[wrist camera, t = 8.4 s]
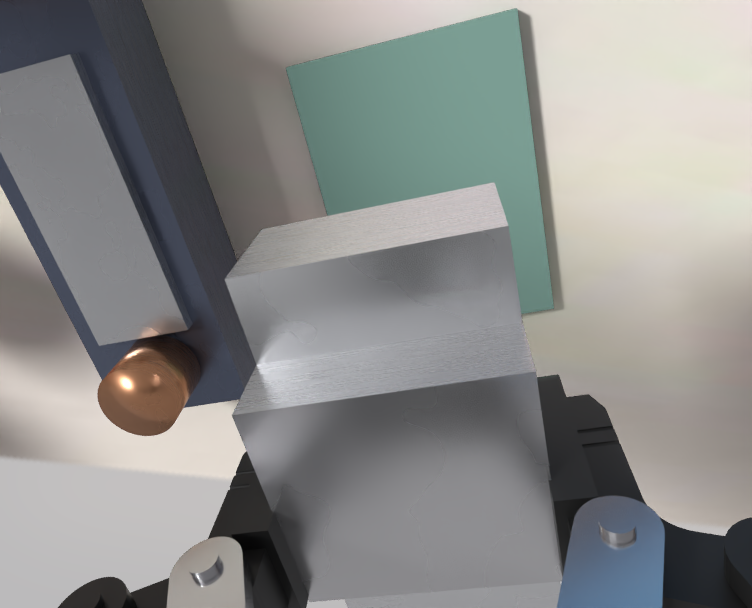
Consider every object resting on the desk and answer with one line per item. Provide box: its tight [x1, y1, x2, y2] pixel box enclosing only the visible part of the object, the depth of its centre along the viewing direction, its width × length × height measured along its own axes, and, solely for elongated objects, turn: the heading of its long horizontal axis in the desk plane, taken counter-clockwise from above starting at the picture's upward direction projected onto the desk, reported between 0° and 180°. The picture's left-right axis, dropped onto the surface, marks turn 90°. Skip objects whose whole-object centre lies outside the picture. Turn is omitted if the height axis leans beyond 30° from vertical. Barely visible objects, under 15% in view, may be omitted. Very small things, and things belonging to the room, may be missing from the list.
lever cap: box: [225, 182, 562, 608], centre depth 13 cm, size 11×5×4 cm, turn 14°
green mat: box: [286, 8, 554, 314], centre depth 29 cm, size 14×10×1 cm
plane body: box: [0, 0, 256, 436], centre depth 25 cm, size 22×7×10 cm, turn 14°
